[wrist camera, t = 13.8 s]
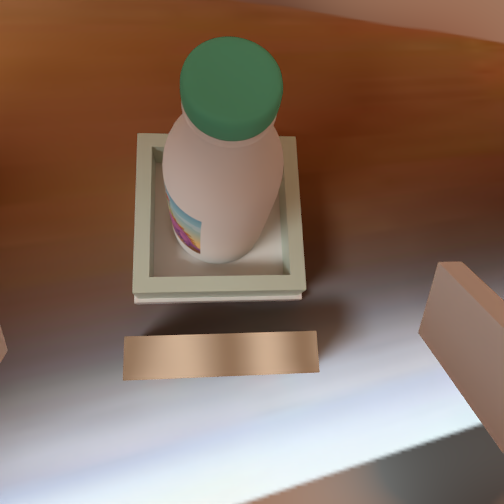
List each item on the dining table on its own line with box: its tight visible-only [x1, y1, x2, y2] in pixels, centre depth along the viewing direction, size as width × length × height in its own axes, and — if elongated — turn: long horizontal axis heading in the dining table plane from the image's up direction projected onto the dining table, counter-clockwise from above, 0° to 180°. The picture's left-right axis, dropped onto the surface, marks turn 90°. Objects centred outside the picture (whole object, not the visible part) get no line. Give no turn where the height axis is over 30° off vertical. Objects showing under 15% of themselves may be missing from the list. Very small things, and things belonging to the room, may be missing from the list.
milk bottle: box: [162, 37, 284, 264], centre depth 28 cm, size 8×8×20 cm
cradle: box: [132, 133, 306, 304], centre depth 37 cm, size 14×14×4 cm
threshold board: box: [123, 331, 319, 380], centre depth 34 cm, size 14×3×5 cm, turn 92°
